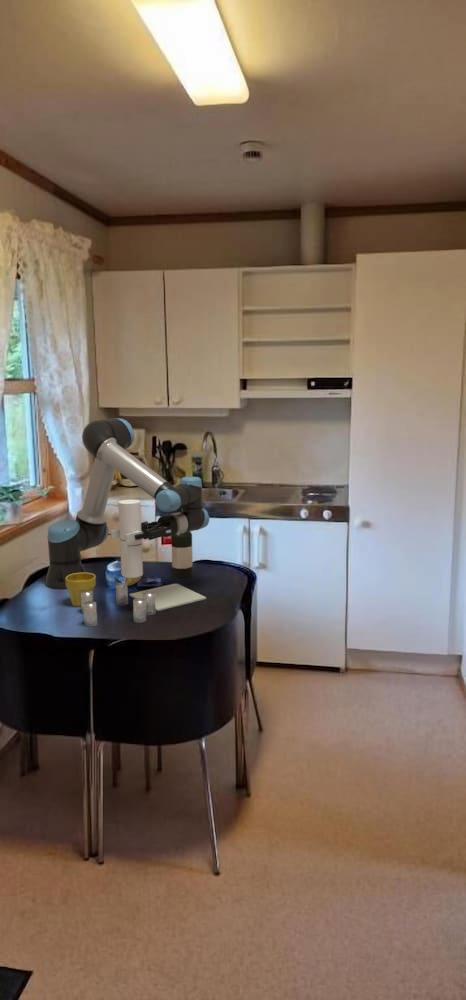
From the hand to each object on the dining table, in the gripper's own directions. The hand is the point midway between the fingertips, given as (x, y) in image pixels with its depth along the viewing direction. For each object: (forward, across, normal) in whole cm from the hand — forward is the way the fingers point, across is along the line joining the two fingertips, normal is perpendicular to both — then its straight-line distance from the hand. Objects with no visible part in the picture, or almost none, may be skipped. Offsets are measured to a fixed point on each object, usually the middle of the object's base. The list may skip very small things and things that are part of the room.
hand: (118, 536), depth 220 cm
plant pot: (+3, +19, -27) cm, 33 cm away
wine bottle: (-42, +17, -27) cm, 52 cm away
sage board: (-21, +2, -27) cm, 34 cm away
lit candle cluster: (+2, 0, -27) cm, 27 cm away
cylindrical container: (-5, 0, -14) cm, 15 cm away
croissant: (-24, +29, -27) cm, 46 cm away
